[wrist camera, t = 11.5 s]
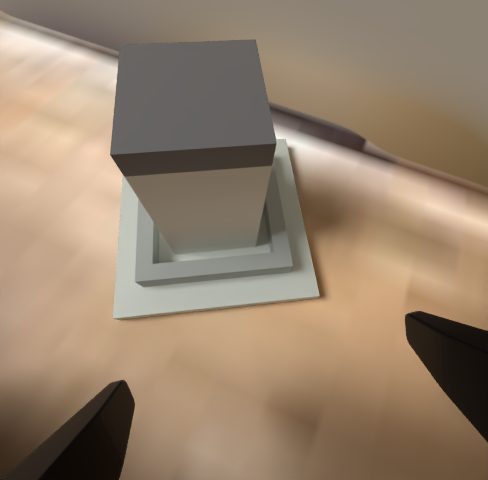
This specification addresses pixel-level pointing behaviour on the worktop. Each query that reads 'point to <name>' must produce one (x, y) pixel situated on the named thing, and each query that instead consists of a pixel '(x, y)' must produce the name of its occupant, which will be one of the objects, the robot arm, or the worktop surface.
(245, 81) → the block
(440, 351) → the robot arm
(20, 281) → the worktop surface
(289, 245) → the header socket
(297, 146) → the worktop surface
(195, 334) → the worktop surface
